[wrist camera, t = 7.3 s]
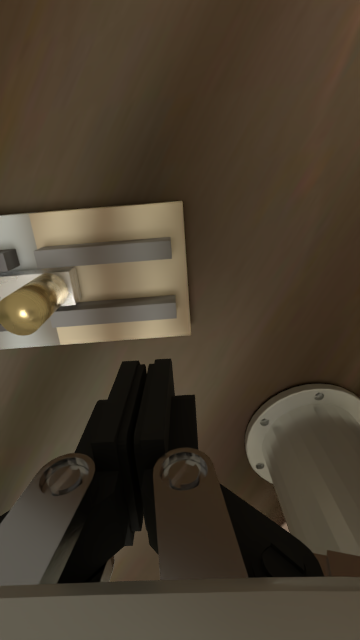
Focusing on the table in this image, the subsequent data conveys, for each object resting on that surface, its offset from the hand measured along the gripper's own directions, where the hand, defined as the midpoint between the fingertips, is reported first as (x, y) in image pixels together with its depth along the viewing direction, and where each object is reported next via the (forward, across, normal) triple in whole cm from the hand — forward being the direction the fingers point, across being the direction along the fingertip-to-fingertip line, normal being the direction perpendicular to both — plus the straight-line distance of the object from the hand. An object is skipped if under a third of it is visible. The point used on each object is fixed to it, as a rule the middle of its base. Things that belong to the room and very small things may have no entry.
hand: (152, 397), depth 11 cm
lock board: (+15, +9, -2) cm, 18 cm away
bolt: (+13, +11, -1) cm, 17 cm away
